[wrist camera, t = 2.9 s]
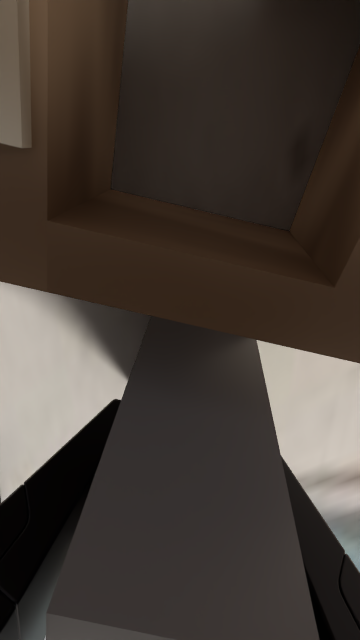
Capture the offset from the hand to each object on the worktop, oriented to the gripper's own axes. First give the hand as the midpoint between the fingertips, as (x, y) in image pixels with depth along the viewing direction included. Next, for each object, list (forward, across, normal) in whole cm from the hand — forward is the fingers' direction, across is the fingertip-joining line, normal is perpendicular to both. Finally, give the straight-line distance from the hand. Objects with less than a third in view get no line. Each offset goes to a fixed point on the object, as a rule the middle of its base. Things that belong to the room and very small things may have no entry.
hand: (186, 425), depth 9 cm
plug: (+3, 0, 0) cm, 3 cm away
